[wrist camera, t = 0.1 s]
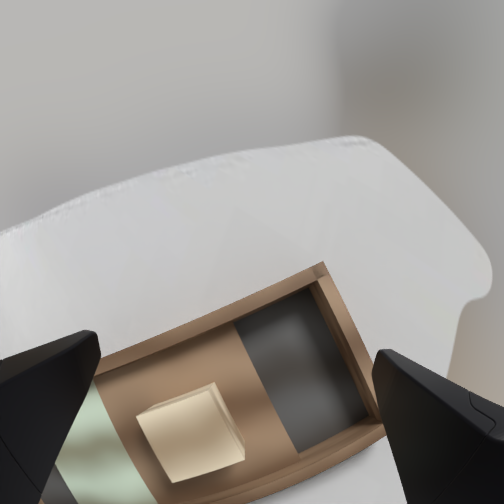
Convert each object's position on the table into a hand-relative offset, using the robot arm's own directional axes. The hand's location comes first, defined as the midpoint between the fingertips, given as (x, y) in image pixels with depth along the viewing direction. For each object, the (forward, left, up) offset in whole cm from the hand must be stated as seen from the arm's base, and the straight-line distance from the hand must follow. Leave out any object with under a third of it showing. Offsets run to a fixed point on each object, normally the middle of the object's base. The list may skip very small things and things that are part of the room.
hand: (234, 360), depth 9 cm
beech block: (-4, +5, -13) cm, 14 cm away
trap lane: (-4, +10, -15) cm, 18 cm away
